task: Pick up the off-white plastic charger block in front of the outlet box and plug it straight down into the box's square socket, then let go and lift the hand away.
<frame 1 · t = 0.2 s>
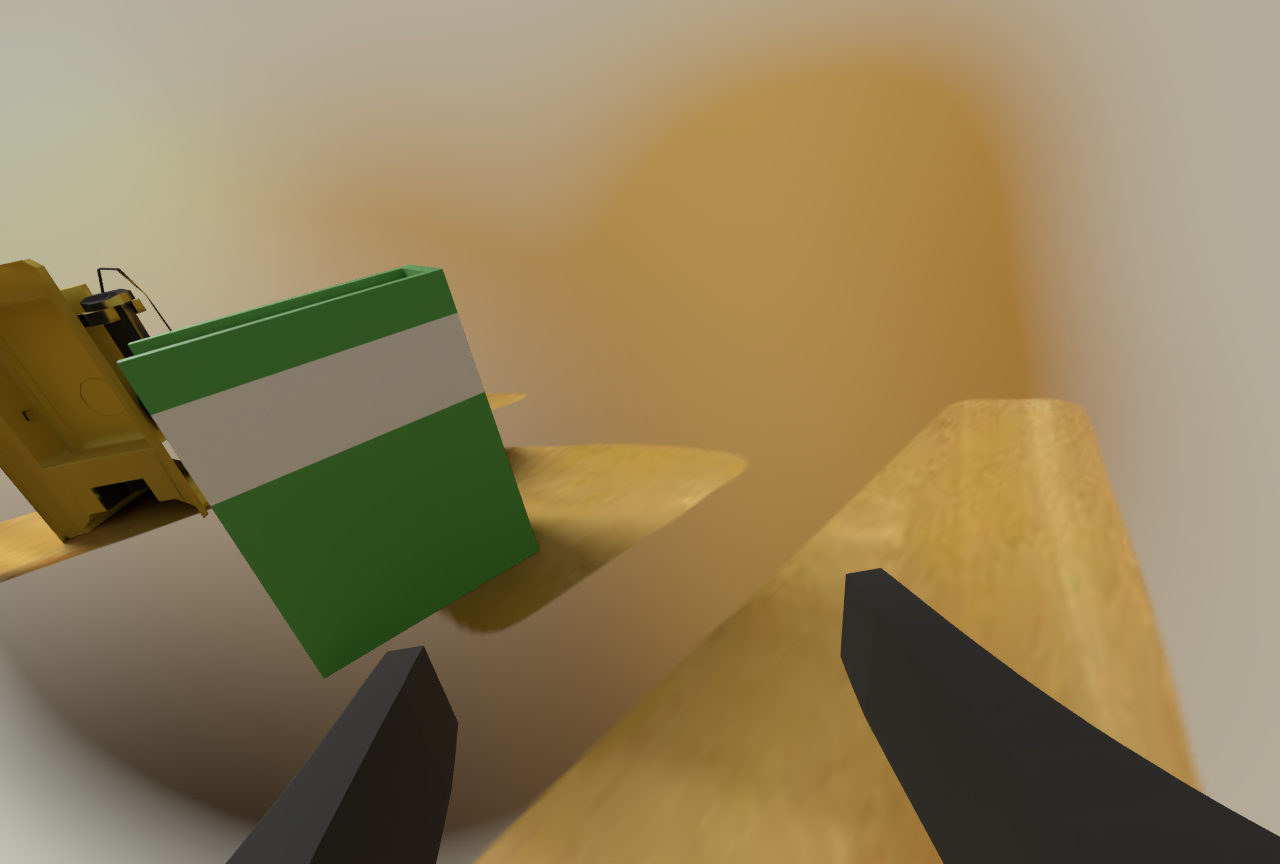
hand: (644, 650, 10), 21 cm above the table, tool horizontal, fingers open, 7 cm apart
vintage telephone: (185, 497, 72), on the table
hardback book: (427, 587, 47), on the table
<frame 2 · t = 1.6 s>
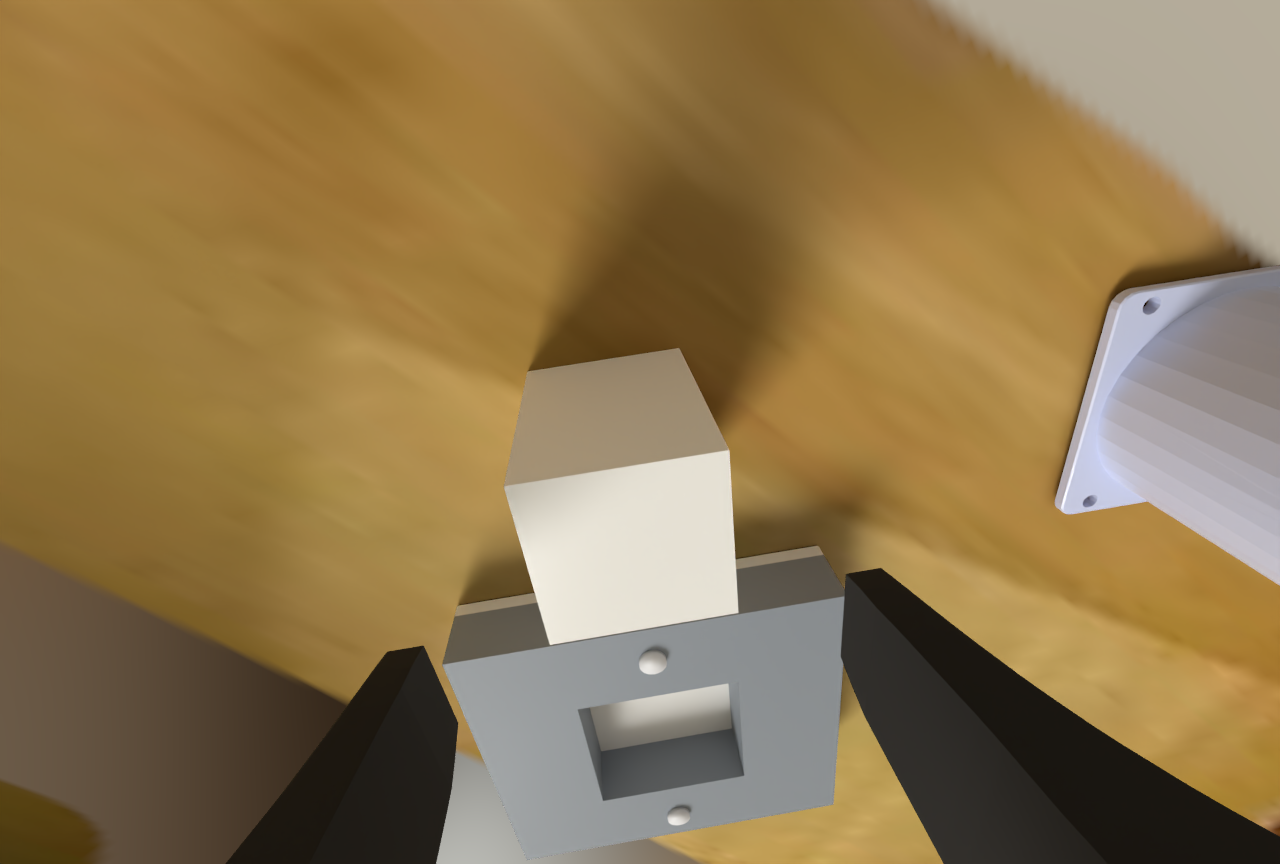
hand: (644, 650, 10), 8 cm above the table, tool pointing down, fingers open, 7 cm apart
outlet box: (657, 686, 23), on the table
charger: (614, 426, 17), on the table
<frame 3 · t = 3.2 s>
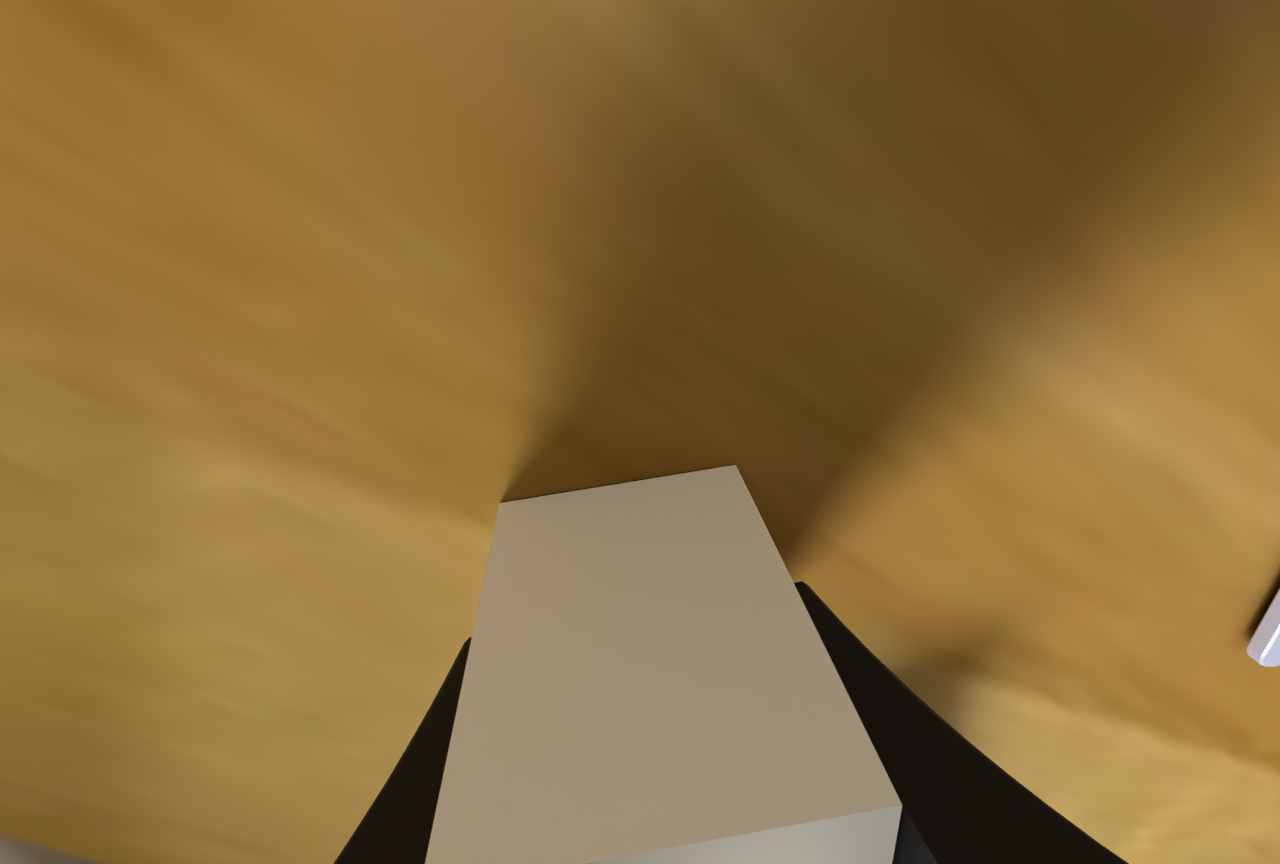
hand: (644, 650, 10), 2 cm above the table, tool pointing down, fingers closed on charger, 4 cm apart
charger: (633, 573, 11), on the table, touching gripper
when the fingers open (3 cm above the table, at t = 7.2 s): charger stays where it is, resting on outlet box.
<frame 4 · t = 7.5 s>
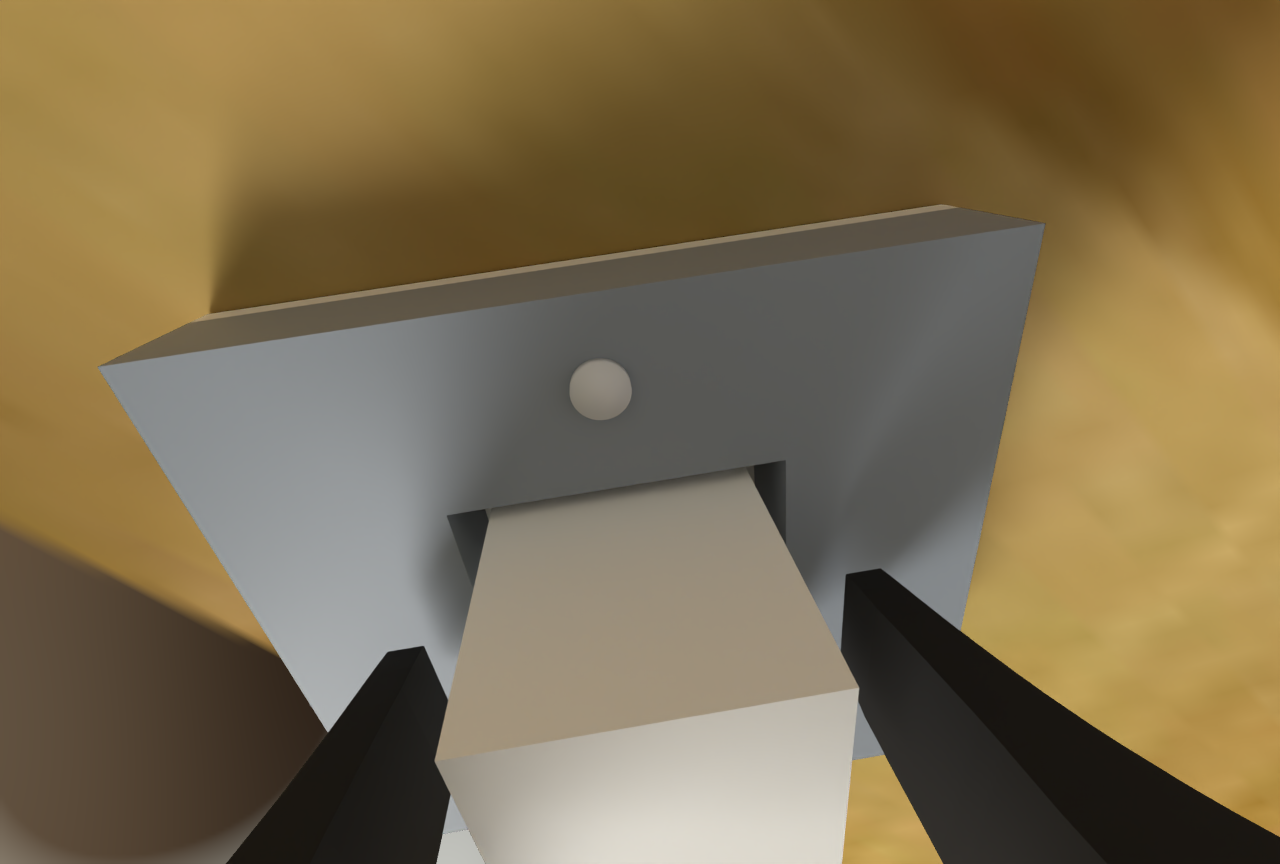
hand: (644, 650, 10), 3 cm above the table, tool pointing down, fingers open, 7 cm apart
outlet box: (628, 528, 13), on the table
charger: (628, 530, 12), resting on outlet box
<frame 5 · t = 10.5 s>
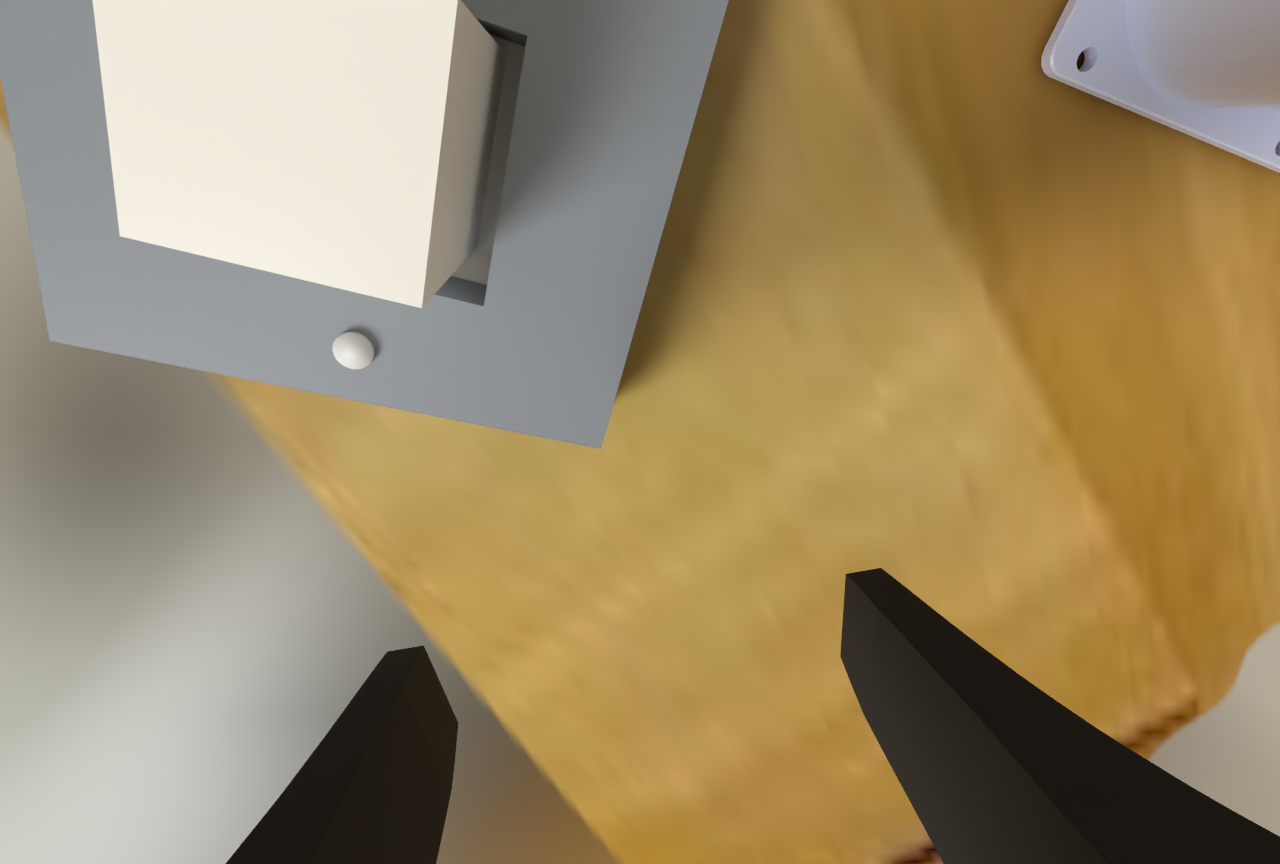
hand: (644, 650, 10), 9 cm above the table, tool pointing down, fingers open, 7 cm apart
outlet box: (400, 143, 14), on the table
charger: (396, 128, 13), resting on outlet box
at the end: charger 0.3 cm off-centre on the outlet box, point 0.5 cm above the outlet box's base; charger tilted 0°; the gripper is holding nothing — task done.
